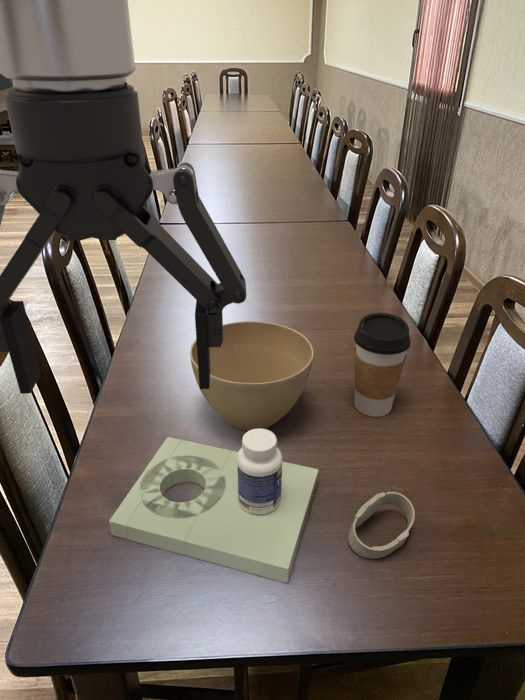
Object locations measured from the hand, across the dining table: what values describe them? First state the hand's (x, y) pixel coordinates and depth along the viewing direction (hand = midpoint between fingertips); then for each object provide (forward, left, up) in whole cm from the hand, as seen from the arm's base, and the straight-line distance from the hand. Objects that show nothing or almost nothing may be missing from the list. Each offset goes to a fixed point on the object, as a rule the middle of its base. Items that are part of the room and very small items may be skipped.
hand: (118, 381), depth 42 cm
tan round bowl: (0, +34, -29) cm, 45 cm away
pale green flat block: (+2, +15, -29) cm, 32 cm away
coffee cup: (+18, +42, -29) cm, 54 cm away
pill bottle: (+7, +15, -26) cm, 31 cm away
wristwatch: (+22, +16, -29) cm, 40 cm away
